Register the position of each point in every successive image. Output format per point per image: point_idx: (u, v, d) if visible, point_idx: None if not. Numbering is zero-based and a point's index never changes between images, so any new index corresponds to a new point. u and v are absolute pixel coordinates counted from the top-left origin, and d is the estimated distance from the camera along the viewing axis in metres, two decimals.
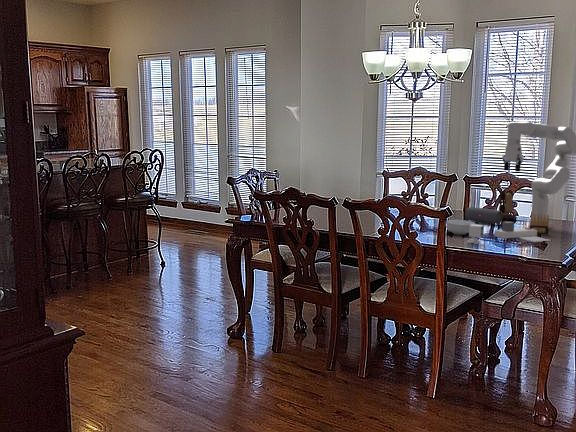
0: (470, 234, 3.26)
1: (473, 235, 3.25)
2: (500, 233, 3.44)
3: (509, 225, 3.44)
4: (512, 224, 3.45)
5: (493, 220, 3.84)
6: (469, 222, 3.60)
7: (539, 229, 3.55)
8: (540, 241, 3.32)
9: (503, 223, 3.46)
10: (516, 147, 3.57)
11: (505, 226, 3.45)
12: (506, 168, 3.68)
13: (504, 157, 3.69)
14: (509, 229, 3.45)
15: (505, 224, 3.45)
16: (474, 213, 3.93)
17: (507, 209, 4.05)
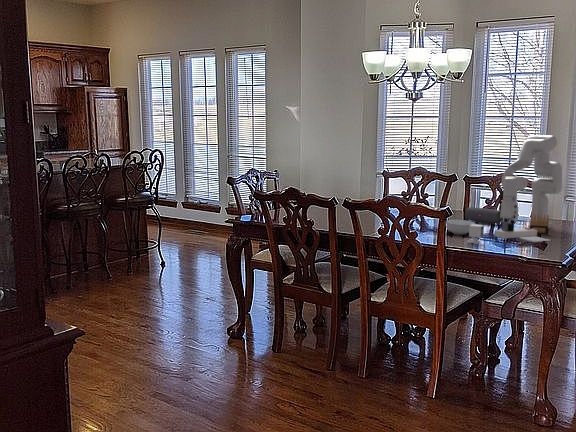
0: (470, 234, 3.26)
1: (473, 235, 3.25)
2: (500, 233, 3.44)
3: None
4: None
5: (493, 220, 3.84)
6: (469, 222, 3.60)
7: (539, 229, 3.55)
8: (540, 241, 3.32)
9: (503, 223, 3.46)
10: (512, 204, 3.40)
11: (505, 226, 3.45)
12: None
13: None
14: None
15: (505, 224, 3.45)
16: (474, 213, 3.93)
17: None
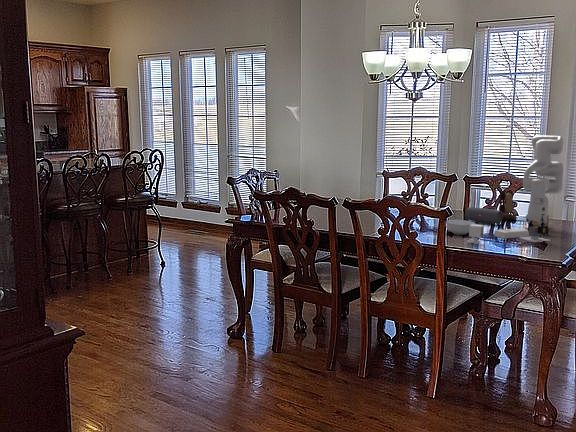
0: (470, 234, 3.26)
1: (473, 235, 3.25)
2: (500, 233, 3.44)
3: (536, 229, 3.35)
4: None
5: (493, 220, 3.84)
6: (469, 222, 3.60)
7: None
8: (540, 241, 3.32)
9: (530, 228, 3.37)
10: (540, 207, 3.31)
11: (532, 231, 3.36)
12: None
13: (527, 217, 3.42)
14: (536, 234, 3.36)
15: (532, 229, 3.36)
16: (474, 213, 3.93)
17: (507, 209, 4.05)
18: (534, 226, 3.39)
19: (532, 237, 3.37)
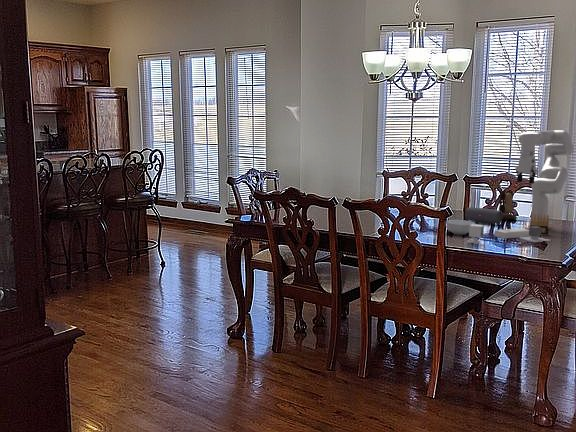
0: (470, 234, 3.26)
1: (473, 235, 3.25)
2: (500, 233, 3.44)
3: (536, 229, 3.35)
4: (539, 229, 3.36)
5: (493, 220, 3.84)
6: (469, 222, 3.60)
7: None
8: (540, 241, 3.32)
9: (530, 228, 3.37)
10: (530, 159, 3.50)
11: (532, 231, 3.36)
12: (519, 180, 3.60)
13: (517, 168, 3.62)
14: (536, 234, 3.36)
15: (532, 229, 3.36)
16: (474, 213, 3.93)
17: (507, 209, 4.05)
18: (534, 226, 3.39)
19: (532, 237, 3.37)
